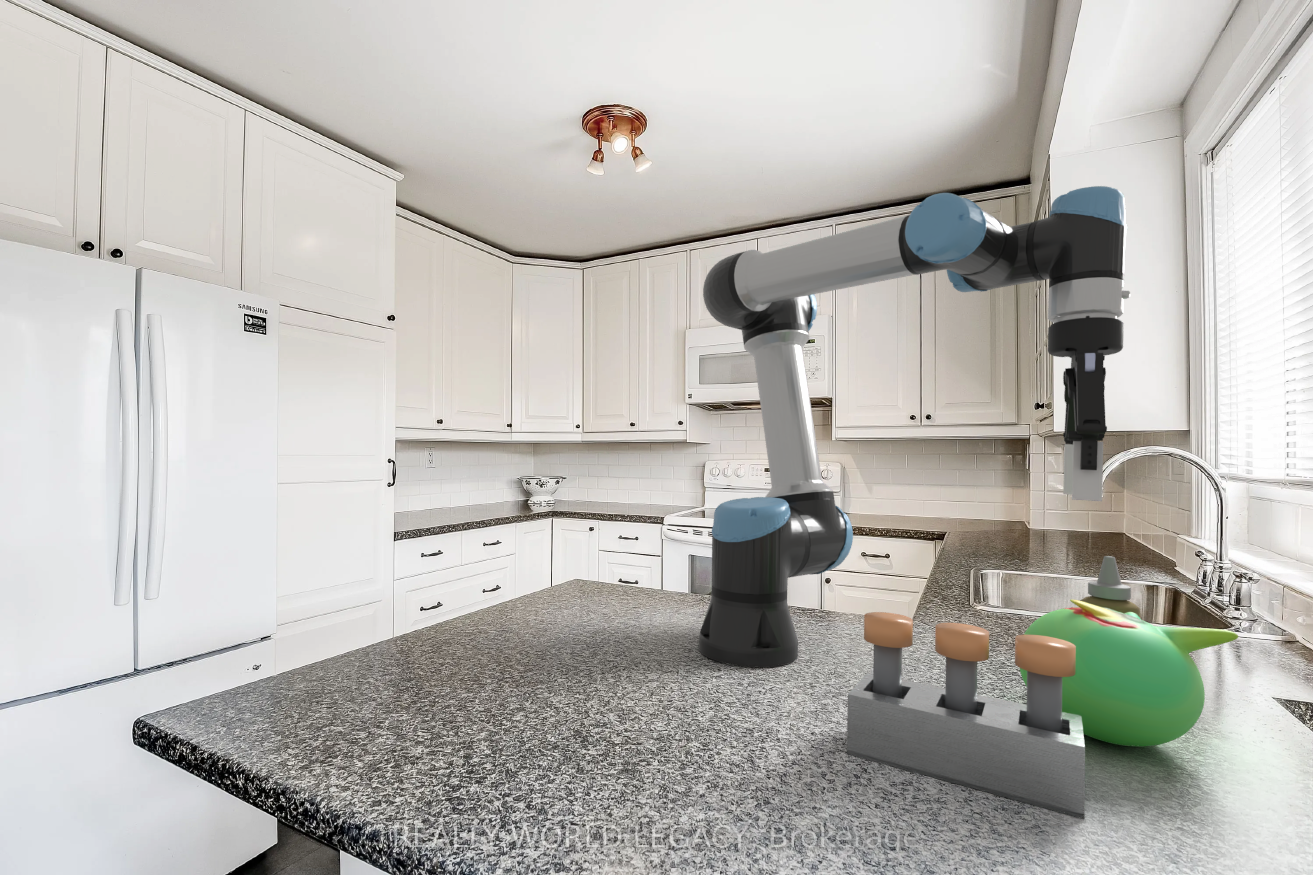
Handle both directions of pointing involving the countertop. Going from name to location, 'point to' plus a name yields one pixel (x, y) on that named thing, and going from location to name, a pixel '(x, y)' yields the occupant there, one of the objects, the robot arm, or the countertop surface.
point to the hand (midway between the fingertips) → (1080, 497)
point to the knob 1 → (888, 649)
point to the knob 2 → (1045, 677)
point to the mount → (970, 744)
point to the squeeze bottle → (1110, 590)
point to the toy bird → (1129, 673)
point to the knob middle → (961, 662)
